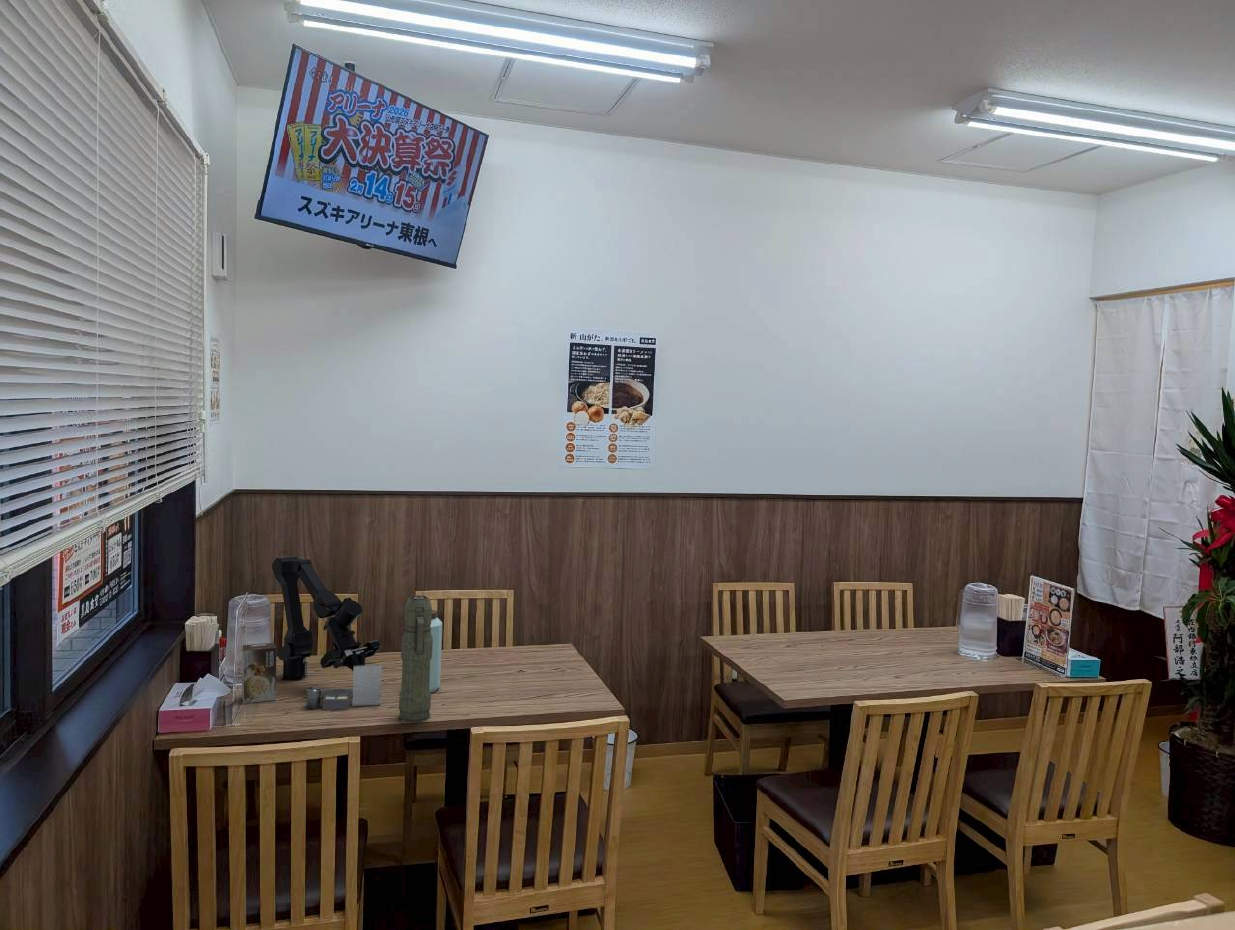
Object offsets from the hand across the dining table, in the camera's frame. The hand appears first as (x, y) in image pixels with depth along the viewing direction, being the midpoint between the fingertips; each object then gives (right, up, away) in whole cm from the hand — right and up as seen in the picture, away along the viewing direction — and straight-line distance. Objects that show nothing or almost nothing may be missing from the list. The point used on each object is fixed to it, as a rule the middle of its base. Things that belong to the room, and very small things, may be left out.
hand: (363, 677), depth 250 cm
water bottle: (+15, -8, +15) cm, 22 cm away
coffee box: (-31, -6, 0) cm, 32 cm away
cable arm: (-5, -8, -3) cm, 9 cm away
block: (-7, -8, -4) cm, 11 cm away
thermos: (+18, -9, -9) cm, 22 cm away
